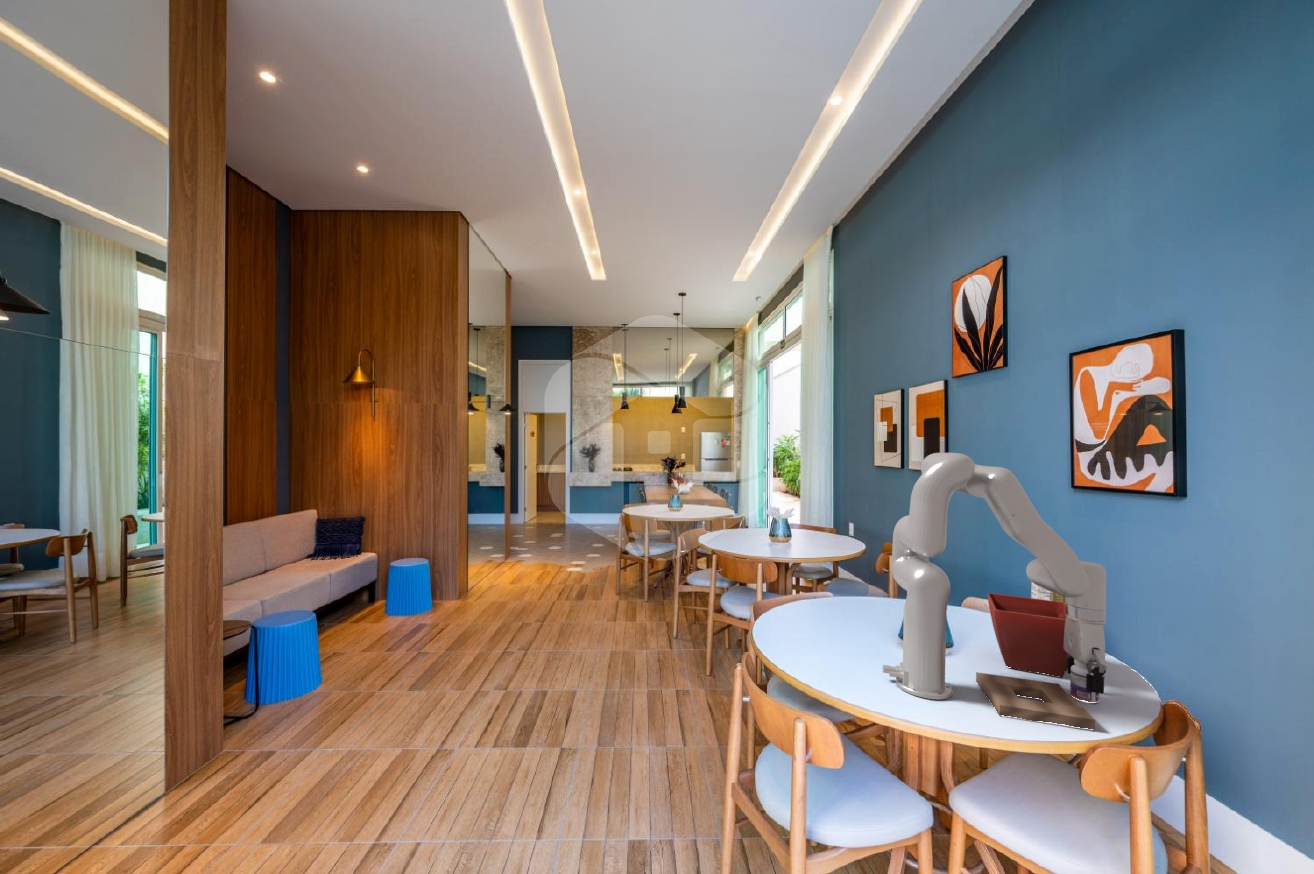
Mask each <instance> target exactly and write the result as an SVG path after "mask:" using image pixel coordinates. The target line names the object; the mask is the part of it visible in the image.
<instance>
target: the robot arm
mask: <svg viewBox="0 0 1314 874" xmlns="http://www.w3.org/2000/svg"><path fill="white" fill-rule="evenodd" d="M920 471H921V475H920V477H918V479H917V481H916V482H915V483H914V485H913V488H912V491H911V494H910V503H909V504H910V505H909V512H908V515H905V516H903V517H901V518H900V519H898V521H897V522H896V524H895V526H894V529H893V532H892V534H893V535H892V544H891V545H892V548H891V549H892V551H891V573H892V577H893V580H895V582H896V584H897V585H898V586H899V587H901V588H902V589H903V590H905V591H906V598H905V601H904V602H905V603H904V607H903V616H902V617H903V619H902V620H903V627H902V628H903V629H902V631H903V634H902V635H903V636H902V637H903V640H902V662H899V665H895V666H891V665H888V664H882V672H883V674H884V673H885V674H888V676H889V677H890V678H891V677H892V678H895V684H896V685H897V687H898V688H900V689H901V690H903V691H904V692H906V693H908V694H910V695H913V696H916V697H919V698H923V699H927V700H928V699H929V700H946V699H949V698H951V697H952V695H953V689H952V686H951V685H949V684H948V682H946V652H947V651H946V650H947V647H946V646H947V641H946V640H947V629H946V628H947V627H946V626H947V611H948V605H949V604H948V603H949V599H950V595H951V582H950V579H949V577H948V575H947V573H946V572H945V571H944V570H943V569H942V568H941V567H939V565H936V564H934V563H932V562H930V561H929V560H930V558H936V557H939V556H940V555H941V554H943V553H944V551H945V550H946V546H947V538H948V537H947V535H948V534H947V531H948V530H947V529H948V509H949V504H950V500H951V498H952V496H953V495H954V493H955V492H958V493H961V494H965V495H969V496H973V497H977V498H982V499H984V501H985V502H986V504H987V506H989V508H990V510H991V511H992V514H993V515H994V517H995V518H996V519H997V522H998V523H999V525H1000V527H1001V528H1002V530H1003V532H1004V533H1005V534H1006V535H1008V536H1009V537H1010V538H1012V540H1014V541H1015V542H1017V543H1018V544H1020V545H1021V546H1022V547H1024V548H1025V549H1027V550H1028V551H1029V552H1030V553H1031V554H1032V555H1034V557H1035V559H1033V560H1031V561H1030V562H1029V563H1028V564H1026V565H1027V566H1026V568H1025V573H1026V576H1027V578H1028V580H1029V581H1031V583H1032V582H1033V583H1034V584H1036V585H1038V586H1040V587H1042V588H1044V589H1047V590H1049V591H1052V592H1055V593H1057V594H1059V595H1062V596H1064V597H1066V621H1065V630H1064V650H1065V651H1066V652H1067V657H1068V658H1067V671H1066V673H1067V674H1068V675H1070V676H1071V666H1072V665H1075V663H1074V659H1076V660H1077V661H1078V662H1079V663H1082V664H1083V663H1086V666H1087V670H1088V673H1089V674H1087V675H1086V690H1087V691H1088V692H1094V693H1099V694H1100V695H1101V694H1104V693H1105V677H1106V672H1107V670H1106V669H1107V667H1108V666H1107V665H1108V663H1107V661H1106V641H1105V640H1106V638H1105V629H1104V625H1105V624H1106V622H1107V621H1106V620H1107V616H1106V615H1107V614H1106V613H1107V611H1106V610H1107V608H1106V606H1107V602H1106V601H1107V571H1106V569H1105V567H1104V566H1103V565H1101V564H1099V563H1097V562H1090V561H1084V560H1080V559H1079V558H1078V557H1079V556H1077V555H1076V553H1075V551H1074V550H1073V549H1072V547H1070V545H1069V544H1068V543H1067V542H1066V541H1065V540H1064V538H1062V537H1061V535H1059V534H1058V533H1057V532H1056V531H1055V530H1054V529H1053V528H1052V527H1051V526H1050V525H1049V524H1048V523H1047V522H1045V521H1044V520H1043V518H1042V516H1040V514H1039V512H1038V510H1037V509H1036V508H1035V506H1034V505H1033V503H1032V501H1031V500H1030V498H1029V496H1028V494H1027V493H1026V491H1025V489H1024V488H1023V486H1022V484H1021V482H1020V481H1019V479H1018V478H1017V477H1016V475H1015V474H1014V473H1013V472H1012V471H1011V470H1010V469H1008V468H1006V467H1002V466H991V465H980V464H976V463H975V461H974V460H973V459H972V458H971V457H970V456H968V455H967V454H963V453H959V452H934V453H931V454H929V455H927V456H925V458H924V459H923V460H922V462H921V465H920ZM1089 660H1090V661H1089ZM1092 661H1094V662H1092ZM1091 666H1095V667H1094V669H1093V670H1092V667H1091Z"/></svg>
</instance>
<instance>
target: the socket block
mask: <svg viewBox="0 0 1314 874" xmlns="http://www.w3.org/2000/svg"><path fill="white" fill-rule="evenodd" d="M975 674H976V675H975V682H977V683H978V684H977V683H976V684H977V685H978V687H979V686H980V687H981V688H980V687H979V688H980V690H981V689H982V690H981V691H982V693H983V692H984V693H985V694H984V693H983V694H984V696H985V695H986V696H987V697H986V696H985V697H986V698H988V699H989V700H990V701H989V700H988V699H987V700H988V701H989V703H990V702H991V703H992V704H991V703H990V704H991V706H992V705H993V706H992V707H993V708H994V707H995V709H996V710H995V709H994V710H995V712H996V711H997V712H996V713H997V714H999V715H1004V716H1011V717H1017V718H1022V719H1026V720H1025V721H1027V720H1032V721H1031V722H1033V721H1043V722H1052V723H1057V724H1065V725H1069V726H1074V727H1080V728H1088V729H1093V730H1095V731H1097V729H1096V728H1097V726H1096V725H1097V724H1096V723H1097V720H1096V719H1095V718H1094V716H1093V715H1092V714H1090V713H1089V711H1087V710H1086V708H1084V707H1083V706H1082V705H1081V704H1080V703H1079V701H1078V700H1076V699H1074V698H1073V697H1072V696H1071V693H1069V692H1068V691H1066V689H1064V687H1062V686H1061V685H1060V683H1056V682H1049V681H1041V680H1035V679H1028V678H1027V679H1025V678H1020V677H1012V676H1004V675H999V674H992V673H984V672H977V671H976V672H975ZM1017 695H1020V696H1026V697H1032V698H1039V699H1042V700H1043V701H1044V702H1043V701H1042V700H1036V699H1030V698H1023V697H1018V696H1017ZM999 715H998V716H999ZM1095 731H1094V732H1095Z"/></svg>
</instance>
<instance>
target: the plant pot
mask: <svg viewBox="0 0 1314 874" xmlns="http://www.w3.org/2000/svg"><path fill="white" fill-rule="evenodd" d="M987 601H988V608H989V613H990V618H991V623H992V626H993V630H994V635H995V638H996V641H997V645H998V648H999V651H1000V654H1001V656H1002V659H1003V662H1004V665H1005V666H1008V667H1011V668H1016V669H1020V670H1019V671H1022V670H1025V671H1024V672H1027V671H1031V672H1030V673H1033V672H1039V673H1045V674H1049V675H1048V676H1050V675H1054V676H1053V677H1055V676H1060V677H1059V678H1063V677H1064V676H1065V674H1066V673H1067V658H1068V657H1067V652H1066V651H1065V650H1064V630H1065V621H1066V604H1065V603H1062V602H1056V601H1049V600H1041V599H1033V598H1031V597H1025V596H1016V595H1015V596H1014V595H1007V594H999V593H991V592H989V593H987ZM1008 667H1007V668H1008ZM1011 668H1010V669H1011ZM1016 669H1015V670H1016ZM1039 673H1038V674H1039Z"/></svg>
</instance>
